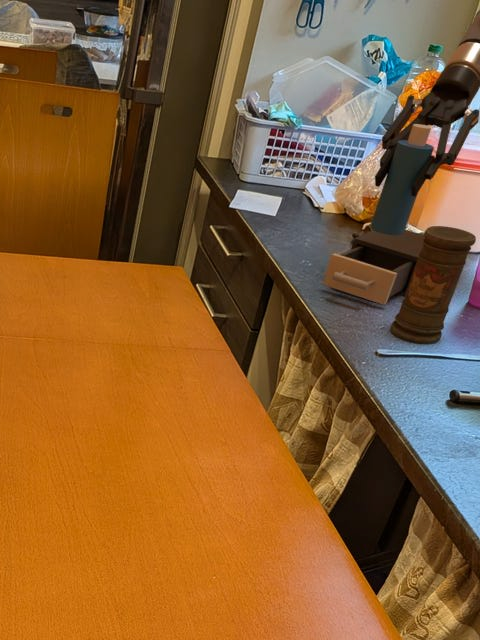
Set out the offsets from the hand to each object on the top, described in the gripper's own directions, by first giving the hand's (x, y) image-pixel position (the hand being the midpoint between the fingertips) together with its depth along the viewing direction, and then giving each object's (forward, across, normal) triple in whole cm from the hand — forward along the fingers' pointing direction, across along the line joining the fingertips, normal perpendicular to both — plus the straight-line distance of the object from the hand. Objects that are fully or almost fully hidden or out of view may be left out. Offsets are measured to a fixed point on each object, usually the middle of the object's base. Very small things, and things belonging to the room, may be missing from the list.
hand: (395, 186), depth 172 cm
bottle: (+3, 0, -8) cm, 9 cm away
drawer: (+12, 0, -16) cm, 20 cm away
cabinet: (+3, 0, -26) cm, 26 cm away
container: (+22, -16, -7) cm, 28 cm away
